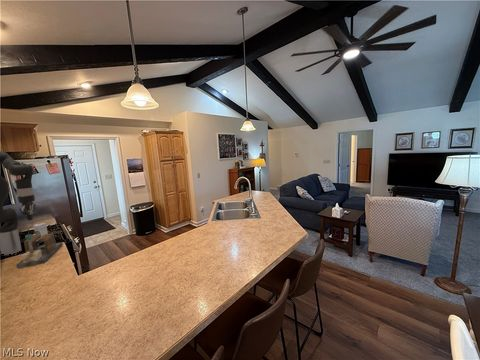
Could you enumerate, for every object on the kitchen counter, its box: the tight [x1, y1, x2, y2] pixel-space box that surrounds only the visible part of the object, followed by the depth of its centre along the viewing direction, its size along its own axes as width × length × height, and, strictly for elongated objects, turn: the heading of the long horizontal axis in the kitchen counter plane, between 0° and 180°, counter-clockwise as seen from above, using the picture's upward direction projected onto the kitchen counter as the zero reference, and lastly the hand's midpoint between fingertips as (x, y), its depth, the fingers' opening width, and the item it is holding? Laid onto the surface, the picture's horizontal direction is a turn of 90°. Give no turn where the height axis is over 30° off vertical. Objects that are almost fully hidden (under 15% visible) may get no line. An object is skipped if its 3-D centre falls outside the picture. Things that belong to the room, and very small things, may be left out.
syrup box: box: [32, 222, 49, 243], centre depth 170 cm, size 6×6×14 cm
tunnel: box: [16, 232, 64, 269], centre depth 144 cm, size 14×28×14 cm, turn 22°
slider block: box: [21, 233, 42, 263], centre depth 133 cm, size 7×6×17 cm
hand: (30, 219), depth 135 cm, fingers closed
